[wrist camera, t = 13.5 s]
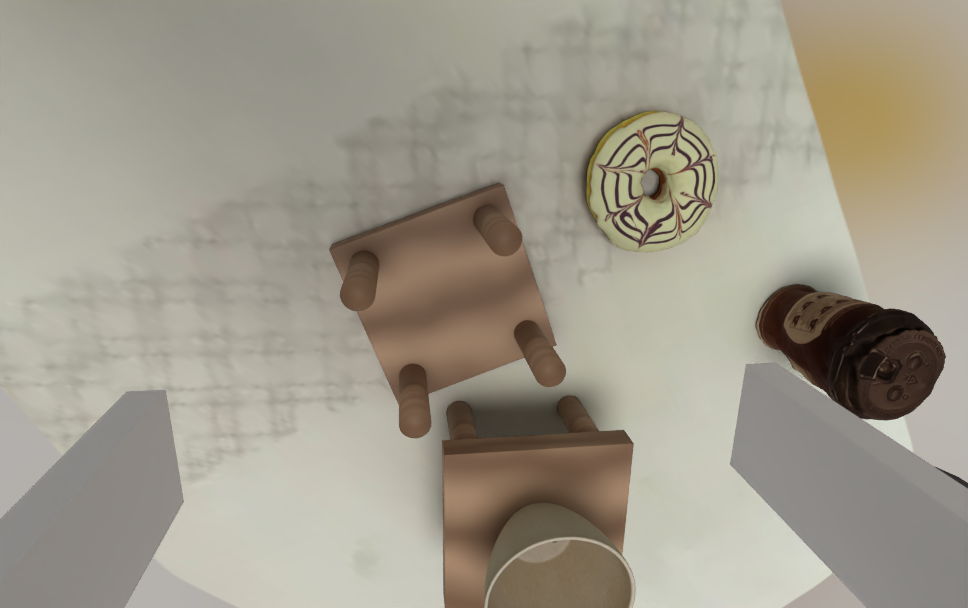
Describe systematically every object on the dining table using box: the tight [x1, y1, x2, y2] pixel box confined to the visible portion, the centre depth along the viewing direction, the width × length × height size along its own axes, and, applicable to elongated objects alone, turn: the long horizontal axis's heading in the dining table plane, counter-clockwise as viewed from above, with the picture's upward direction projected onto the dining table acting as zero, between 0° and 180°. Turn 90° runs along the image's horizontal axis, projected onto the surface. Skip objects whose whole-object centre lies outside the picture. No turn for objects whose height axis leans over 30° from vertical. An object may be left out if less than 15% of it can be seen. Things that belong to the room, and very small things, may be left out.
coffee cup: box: [756, 285, 946, 420], centre depth 48 cm, size 9×8×13 cm
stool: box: [442, 396, 634, 608], centre depth 50 cm, size 14×14×10 cm
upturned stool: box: [329, 182, 566, 438], centre depth 44 cm, size 14×14×10 cm
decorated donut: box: [586, 111, 718, 252], centre depth 47 cm, size 10×11×4 cm
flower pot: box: [484, 503, 636, 608], centre depth 41 cm, size 10×10×7 cm
